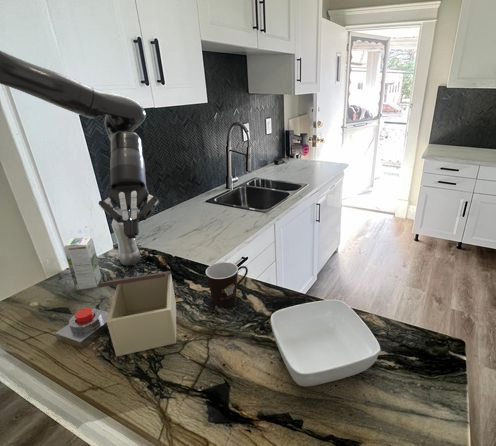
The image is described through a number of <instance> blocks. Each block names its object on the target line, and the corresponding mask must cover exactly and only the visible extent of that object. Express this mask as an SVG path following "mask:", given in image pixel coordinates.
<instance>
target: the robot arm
mask: <svg viewBox="0 0 496 446" xmlns="http://www.w3.org/2000/svg"><path fill="white" fill-rule="evenodd" d="M0 85H2V86H5V87H8V88H12V89H15V90H17V91H20V92H22V93H25V94H27V95H30V96H32V97H35V98H37V99H40V100H42V101H45V102H47V103H49V104H51V105H54V106H56V107H59V108H61V109H64V110H66V111H68V112H72V113H74V114H76V115H80V116H82V117H85V118H88V119H94V120H95V119H98V118H100V117H103V116H105V117H104V128H105V131H106V133H107V137H108V139H109V141H110V160H109V165H110V166H109V169H110V192H109V193H108V197H107V198H106V199H104V200H102V199H101V200H99V201H98V206H100V208H101V209H102V210H103V211H104V212H105V213H106V214H107V215H108V216H110V217H111V218H112V220H113V219H114V220H115V221H116V222H118V223H123V226H124V234H125V235H126V237H128V238H129V239H132V238H135V239H137V236H139V234H140V228H139V227H140V226H139V223H140V222H142V221H147V219H148V218H149V217H150V216H151V214H152V213H153V211H155V210H156V208H157V206H159V204H160V201H159V198H158V196H157V195H151V194H150V192H149V190H148V188H147V176H146V175H147V174H146V172H147V171H146V164H145V159H144V152H143V142H142V138H141V137H140V135H139V134H137V133H136V132H134V131H135V130H137V128H139V126H141V125H142V124H143V123H144V122H145V121H146V117H147V113H146V110H145V108H144V107H143V106H142V105H141V104H140V102H138V101H137V100H135V99H134V98H131V97H129V96H126V95H122V94H118V93H113V92H109V91H104V90H99V89H96V88H94V87H92V86H90V85H88V84H86V83H83V82H81V81H79V80H76V79H74V78H71V77H69V76H67V75H64V74H63V73H62V74H61V73H59V72H56V71H54V70H50V69H47V68H44V67H42V66H39V65H36V64H34V63H31V62H28V61H25V60H23V59H22V58H19V57H16V56H14V55H11V54H9V53H8V52H5V51H3V50H1V49H0ZM145 203H146V204H145ZM113 204H114V205H115V206H116V207H118V208H119V209H121V211H122V215H119V214H118V213H117V212H116V211H114V210H113V208H114V205H113ZM142 207H143V208H142ZM141 208H142V209H141ZM140 209H141V211H140ZM130 218H131V219H130Z"/></svg>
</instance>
